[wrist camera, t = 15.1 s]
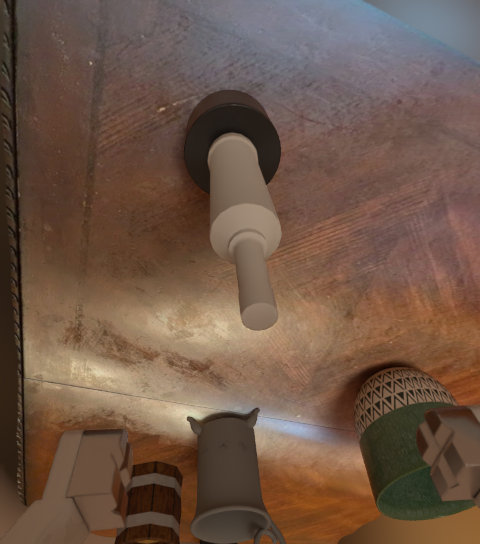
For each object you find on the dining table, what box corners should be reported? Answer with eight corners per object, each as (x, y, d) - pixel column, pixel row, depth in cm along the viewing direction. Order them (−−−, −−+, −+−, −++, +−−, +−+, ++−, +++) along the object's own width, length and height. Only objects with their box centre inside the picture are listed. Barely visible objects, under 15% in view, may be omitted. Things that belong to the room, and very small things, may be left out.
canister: (169, 119, 46) (164, 138, 40) (246, 70, 43) (252, 83, 37) (214, 189, 51) (216, 214, 45) (285, 149, 49) (296, 171, 43)
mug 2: (175, 436, 83) (166, 579, 63) (200, 395, 76) (199, 543, 56) (254, 450, 89) (269, 586, 69) (285, 413, 82) (312, 553, 61)
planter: (330, 411, 82) (364, 524, 65) (348, 346, 71) (395, 463, 54) (419, 407, 84) (475, 516, 67) (451, 343, 73) (529, 455, 55)
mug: (125, 460, 87) (113, 536, 75) (186, 462, 90) (183, 536, 78) (122, 501, 99) (111, 574, 87) (177, 502, 101) (173, 572, 89)
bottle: (200, 168, 42) (198, 338, 22) (217, 122, 39) (233, 267, 19) (244, 185, 44) (281, 357, 23) (264, 141, 41) (324, 294, 21)
